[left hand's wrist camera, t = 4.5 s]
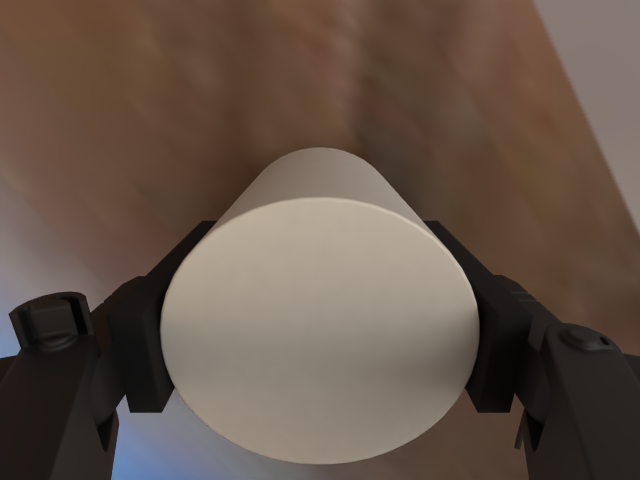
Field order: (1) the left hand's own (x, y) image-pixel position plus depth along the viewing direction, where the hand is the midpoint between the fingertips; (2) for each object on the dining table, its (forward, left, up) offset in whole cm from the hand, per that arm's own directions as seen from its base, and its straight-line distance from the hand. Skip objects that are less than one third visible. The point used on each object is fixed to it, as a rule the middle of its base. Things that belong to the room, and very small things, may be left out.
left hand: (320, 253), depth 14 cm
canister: (0, 0, -3) cm, 3 cm away
